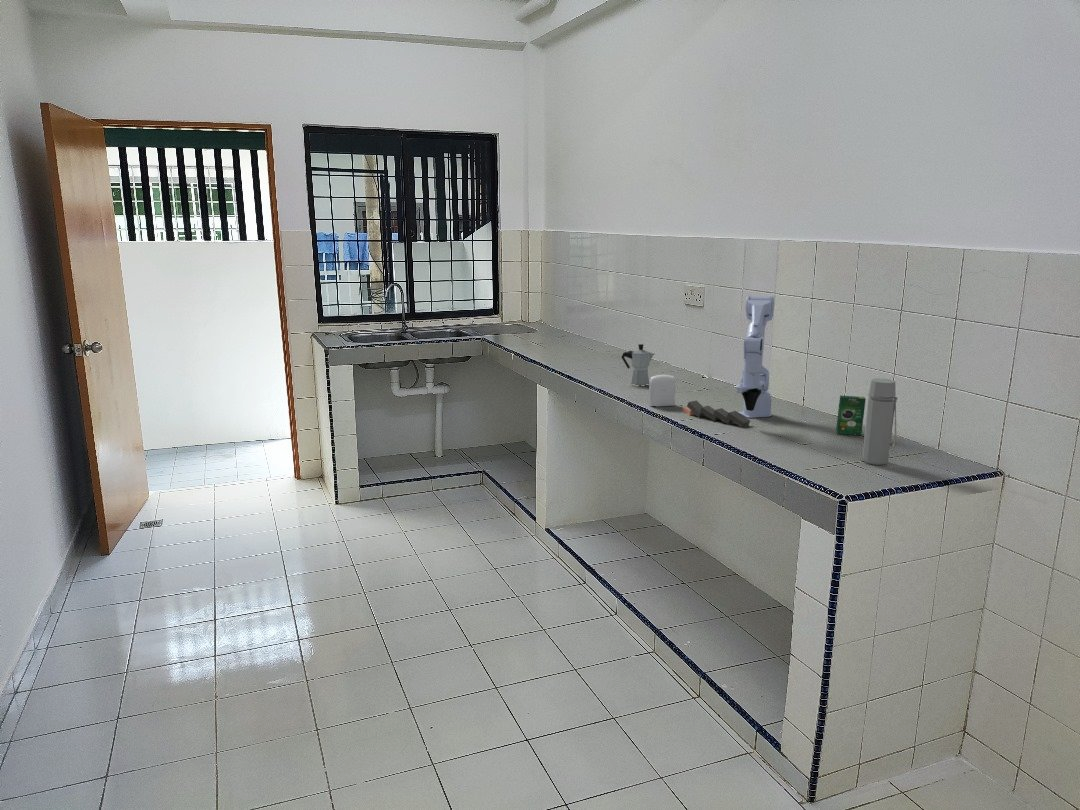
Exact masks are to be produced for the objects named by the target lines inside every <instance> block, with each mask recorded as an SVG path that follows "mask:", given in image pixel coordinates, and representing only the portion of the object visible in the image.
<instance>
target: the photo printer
mask: <svg viewBox="0 0 1080 810" xmlns="http://www.w3.org/2000/svg"><path fill="white" fill-rule="evenodd" d="M648 386H649V387H648V388H649V389H648V390H649V391H648V394H649V395H648V401H649V402H648V403H649V404H648V406H649V405H650V406H649V407H651V406H656V407H672V406H675V405H676V378H675V376H673V375H669V374H658V375H653V376H651V377H650V378H649V385H648Z"/></svg>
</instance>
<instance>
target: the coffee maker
mask: <svg viewBox="0 0 1080 810" xmlns="http://www.w3.org/2000/svg"><path fill="white" fill-rule="evenodd" d="M637 345H638V349H637V350H628V351H623V353H622V355H621V359H622V361H623V363H624V364H625V365H626V367H627V369H630V368H631V367H630V365H629V363H628V362H627V360H626V358H629V359H631V364H632V367H633V371H632V376H631V382H630V385H631V384H635V385H646V384H649V382H650V378H649V371H648V368H649V367H650V362H651V361H652V359H653V357H654V355H655V353H654V352H651V351H648V350H645V349H644V344H643V343H641V344H640V343H639V344H637Z"/></svg>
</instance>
